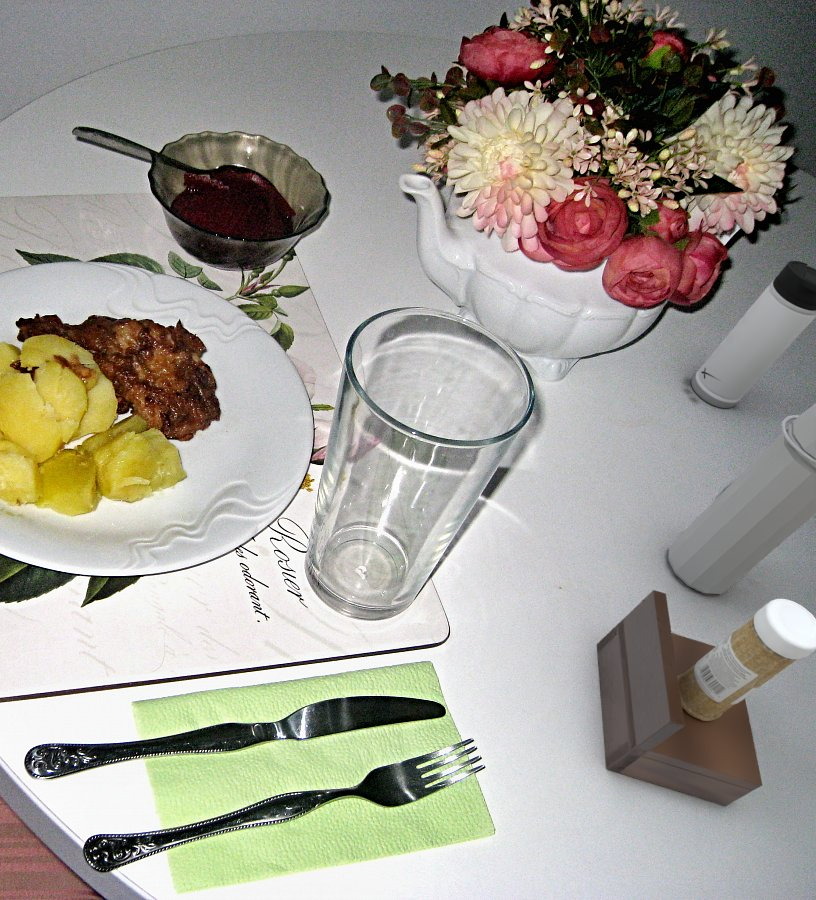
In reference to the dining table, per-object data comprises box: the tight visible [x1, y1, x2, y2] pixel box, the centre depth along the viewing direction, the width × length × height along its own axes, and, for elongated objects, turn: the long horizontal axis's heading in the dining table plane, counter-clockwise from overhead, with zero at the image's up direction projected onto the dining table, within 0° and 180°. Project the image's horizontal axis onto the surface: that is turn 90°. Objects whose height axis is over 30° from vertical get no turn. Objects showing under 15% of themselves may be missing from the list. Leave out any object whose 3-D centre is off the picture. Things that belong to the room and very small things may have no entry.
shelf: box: [596, 589, 763, 807], centre depth 79 cm, size 11×13×10 cm
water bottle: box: [667, 402, 816, 595], centre depth 88 cm, size 9×8×25 cm
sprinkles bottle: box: [678, 598, 816, 721], centre depth 74 cm, size 5×5×13 cm
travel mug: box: [691, 260, 816, 409], centre depth 111 cm, size 6×7×20 cm
